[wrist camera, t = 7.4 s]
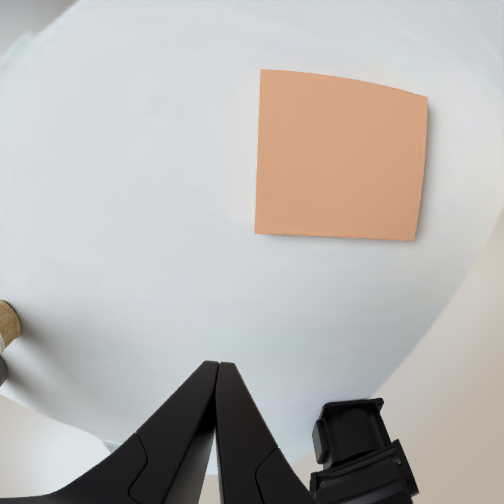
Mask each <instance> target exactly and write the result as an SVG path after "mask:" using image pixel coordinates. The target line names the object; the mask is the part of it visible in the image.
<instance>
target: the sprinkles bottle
mask: <svg viewBox="0 0 504 504" xmlns="http://www.w3.org/2000/svg"><path fill="white" fill-rule="evenodd" d="M20 333H21V325H20V322H19V319H18V317H17V315H16V314H15V312H14V311H13V309H12V308H11V307H10V306H9V305H8V304H7V303H5V302H4V301H1V300H0V354H1V353H2V352H3V351H4V349H5V348H6V347H7V346H8V345H9V344H10V343H11V342H12V341H13V340H14V339H15V338H17V337H18V336H19V335H20Z"/></svg>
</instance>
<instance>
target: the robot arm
mask: <svg viewBox="0 0 504 504" xmlns="http://www.w3.org/2000/svg"><path fill="white" fill-rule="evenodd" d="M383 404H384V401H383V399H382V398H376V399H369V400H360V401H351V402H340V403H328V404H325V405H324V406H323V408H322V411H321V414H320V417H319V420H317V421H316V423H315V426H314V429H313V433H312V437H313V443H314V449H315V454H316V460H317V463H318V464H323V468H324V470H322V471H319V472H313V473H311V480H310V492H309V491H308V490H307V488H306V487H305V486H304V485H303V483H302V482H301V481H300V480H299V478H298V477H297V476H296V474H295V473H294V471H293V470H292V468H291V467H290V465H289V463H288V462H287V460H286V459H285V457H284V455H283V453H282V452H281V450H280V448H278V445H277V443H276V441H275V439H274V438H273V436H272V434H271V432H270V430H269V429H268V427H267V425H266V423H265V421H264V419H263V418H262V416H261V414H260V412H259V410H258V408H257V406H256V404H255V402H254V401H253V399H252V397H251V395H250V393H249V391H248V389H247V387H246V385H245V383H244V381H243V379H242V377H241V375H240V373H239V371H238V369H237V367H236V365H235V364H234V363H231V362H220V364H219V362H217V361H204V362H203V363H202V364H201V365H200V366H199V367H198V368H197V369H196V370H195V371H194V372H193V373H192V375H191V376H190V377H189V378H188V379H187V380H186V381H185V382H184V383H183V384H182V385H181V386H180V387H179V388H178V389H177V390H176V391H175V392H174V393H173V394H172V395H171V396H170V397H169V398H168V399H167V400H166V401H165V403H164V404H163V405H162V406H161V407H160V408H159V409H158V410H157V411H156V412H155V413H154V414H153V415H152V416H151V417H150V418H149V419H148V420H147V421H146V422H145V423H144V424H143V425H142V426H141V427H140V428H139V429H138V430H137V431H136V433H133V434H132V435H131V436H130V437H129V438H128V439H127V440H126V441H125V442H124V443H123V444H122V445H121V446H120V447H119V448H118V449H116V450H115V451H114V452H113V453H112V454H110V455H109V456H108V457H107V458H105V459H104V460H103V461H101V462H100V463H99V464H97V465H96V466H94V467H93V468H92V469H90V470H89V471H87V472H86V473H84V474H83V475H82V476H80V477H78V478H77V479H76V480H74V481H73V482H71V483H70V484H68V485H67V486H65V487H63V488H62V489H60V490H58V491H55V492H53V493H50V494H46V495H41V496H31V497H17V498H0V504H198V502H199V498H200V494H201V490H202V486H203V481H204V477H205V473H206V469H207V465H208V461H209V456H210V452H211V448H212V444H213V439H214V434H215V433H216V452H217V466H218V479H219V491H220V501H221V504H413V501H412V498H411V497H413V496H415V495H417V494H419V491H418V488H417V485H416V482H415V479H414V476H413V474H412V471H411V468H410V466H409V463H408V461H407V459H406V456H405V454H404V451H403V449H402V446H401V444H400V442H399V439H397V440H395V441H393V442H392V443H391V440H390V438H389V435H388V433H387V430H386V428H385V425H384V422H383V420H382V417H381V415H380V410H381V408H382V406H383ZM399 463H400V464H399Z"/></svg>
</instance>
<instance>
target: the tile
mask: <svg viewBox="0 0 504 504" xmlns="http://www.w3.org/2000/svg"><path fill="white" fill-rule="evenodd" d="M426 139H427V97H425V96H422V95H418V94H415V93H411V92H407V91H403V90H400V89H396V88H391V87H387V86H383V85H378V84H374V83H369V82H364V81H359V80H353V79H347V78H341V77H335V76H328V75H321V74H313V73H304V72H294V71H281V70H265V69H261V72H260V91H259V118H258V144H257V171H256V197H255V223H254V231H255V234H275V235H301V236H325V237H347V238H367V239H386V240H404V241H414V239H415V234H416V228H417V222H418V216H419V209H420V202H421V195H422V186H423V177H424V167H425V155H426Z"/></svg>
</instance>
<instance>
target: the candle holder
mask: <svg viewBox="0 0 504 504" xmlns="http://www.w3.org/2000/svg"><path fill="white" fill-rule="evenodd" d="M8 375H9V373H8V368H7V366H6V364H5V362H4V361H3V359H2V358H1V356H0V387H1V385H2V384H3V383H4V381H5V380H6V379H7V378H8Z"/></svg>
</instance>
